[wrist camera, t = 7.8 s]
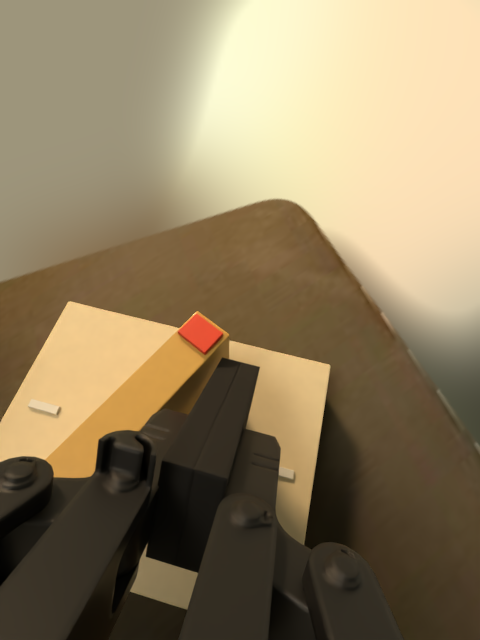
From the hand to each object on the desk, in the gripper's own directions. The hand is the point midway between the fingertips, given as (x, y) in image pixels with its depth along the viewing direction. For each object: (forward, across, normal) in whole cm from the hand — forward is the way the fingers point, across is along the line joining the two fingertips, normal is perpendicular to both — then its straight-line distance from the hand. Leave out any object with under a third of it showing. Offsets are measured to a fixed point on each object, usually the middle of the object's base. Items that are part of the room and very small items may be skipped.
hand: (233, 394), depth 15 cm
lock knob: (+1, -3, -3) cm, 5 cm away
